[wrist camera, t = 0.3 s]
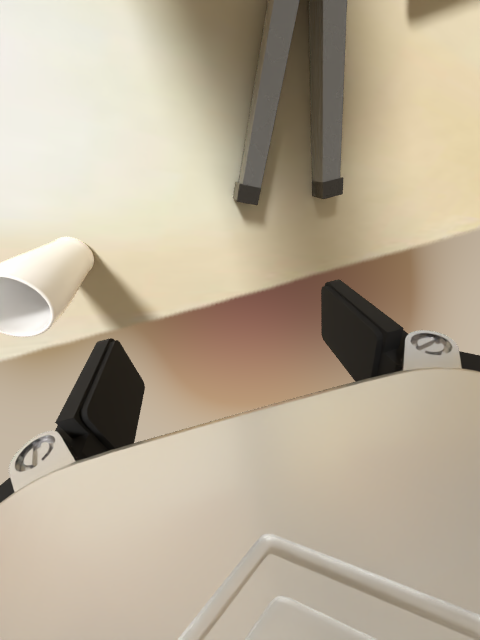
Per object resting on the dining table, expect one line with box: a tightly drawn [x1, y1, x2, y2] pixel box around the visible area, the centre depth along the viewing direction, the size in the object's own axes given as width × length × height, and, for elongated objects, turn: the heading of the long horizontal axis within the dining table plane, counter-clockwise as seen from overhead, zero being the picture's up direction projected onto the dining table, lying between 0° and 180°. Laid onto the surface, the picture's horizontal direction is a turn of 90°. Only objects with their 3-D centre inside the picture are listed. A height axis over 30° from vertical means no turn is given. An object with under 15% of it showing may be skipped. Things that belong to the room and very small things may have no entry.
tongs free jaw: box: [233, 0, 299, 205], centre depth 27 cm, size 22×3×3 cm, turn 169°
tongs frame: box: [309, 0, 347, 199], centre depth 26 cm, size 29×6×3 cm, turn 11°
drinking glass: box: [0, 237, 94, 337], centre depth 28 cm, size 7×7×15 cm
